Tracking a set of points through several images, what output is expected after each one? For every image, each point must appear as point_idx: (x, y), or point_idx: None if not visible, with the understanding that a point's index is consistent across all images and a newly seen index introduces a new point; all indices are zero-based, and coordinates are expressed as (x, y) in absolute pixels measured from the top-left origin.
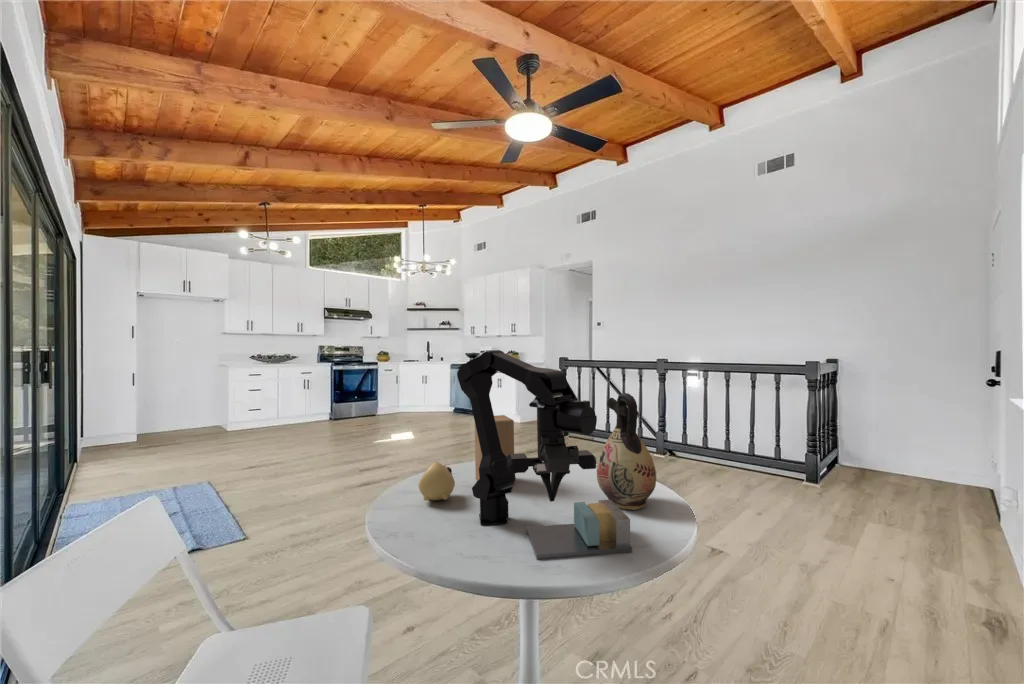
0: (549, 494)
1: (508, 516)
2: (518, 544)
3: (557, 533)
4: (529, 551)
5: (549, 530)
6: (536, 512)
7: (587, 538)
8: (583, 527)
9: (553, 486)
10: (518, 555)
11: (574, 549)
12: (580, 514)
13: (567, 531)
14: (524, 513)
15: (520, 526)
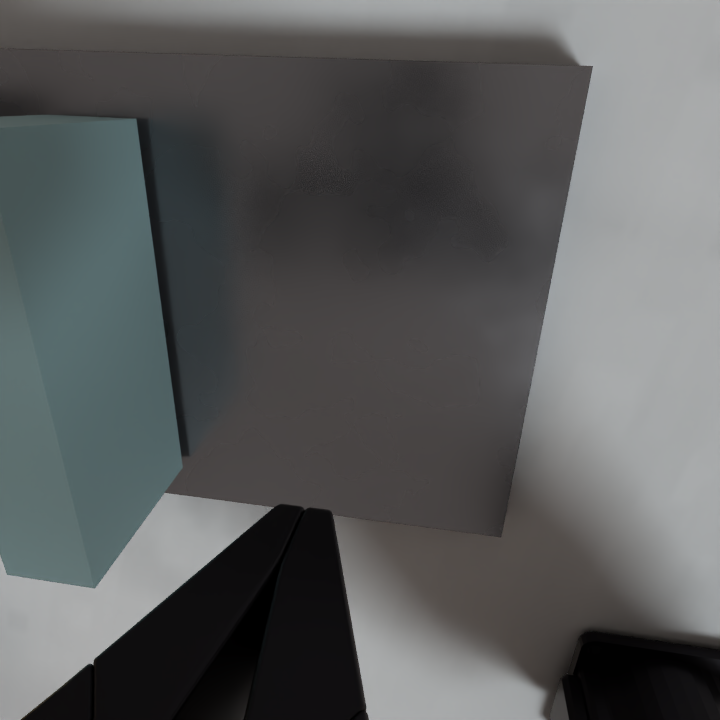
0: (325, 581)
1: (562, 683)
2: (622, 358)
3: (316, 396)
4: (585, 231)
5: (359, 451)
6: (364, 692)
7: (103, 125)
8: (97, 261)
9: (194, 705)
10: (700, 182)
11: (249, 102)
12: (66, 386)
13: (243, 407)
14: (433, 702)
15: (511, 580)
